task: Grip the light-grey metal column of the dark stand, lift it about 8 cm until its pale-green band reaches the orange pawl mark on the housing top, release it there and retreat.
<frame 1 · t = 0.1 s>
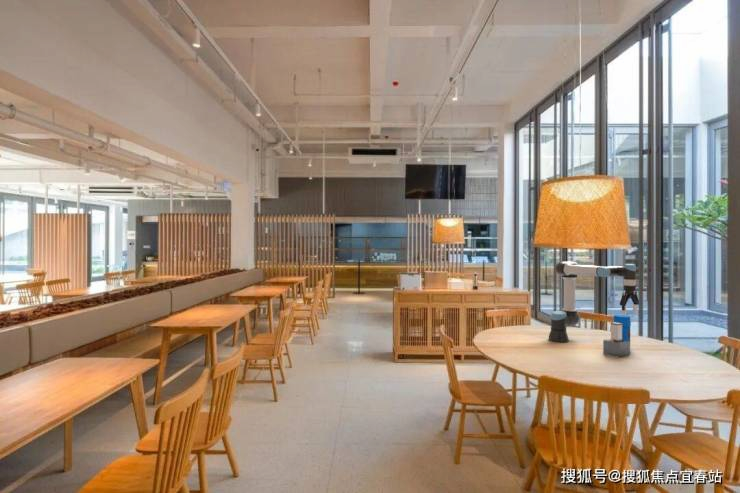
hand: (629, 314, 303), 28 cm above the table, fingers open, 13 cm apart
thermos: (621, 349, 313), on the table
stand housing: (616, 354, 298), on the table
column: (616, 338, 298), point 11 cm above the table, slide at 0.0 cm
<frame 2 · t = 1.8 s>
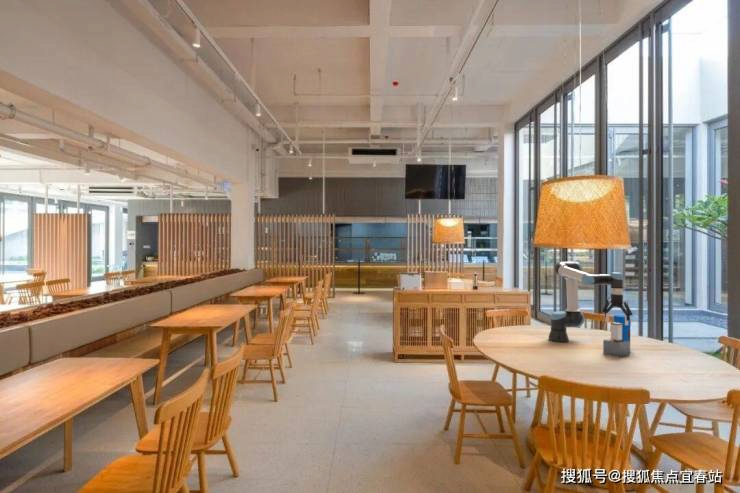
hand: (616, 323, 297), 22 cm above the table, fingers open, 13 cm apart
nothing on the table moved.
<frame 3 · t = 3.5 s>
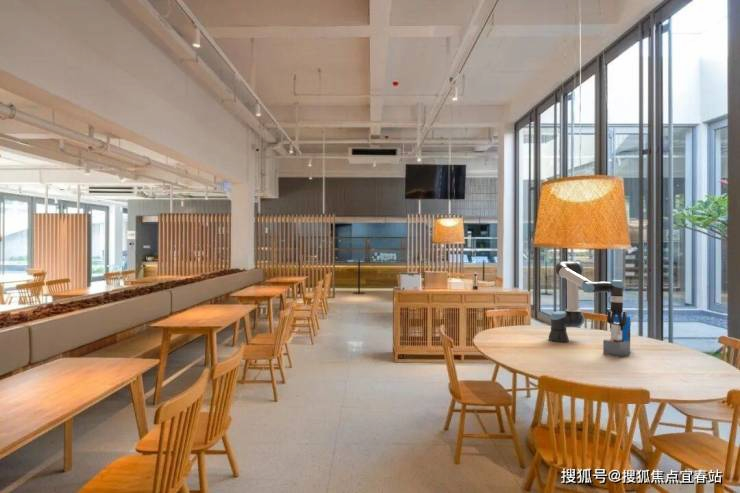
hand: (616, 333, 298), 15 cm above the table, fingers closed on column, 5 cm apart
column: (616, 338, 298), point 11 cm above the table, slide at 0.0 cm, touching gripper
everything else where it was.
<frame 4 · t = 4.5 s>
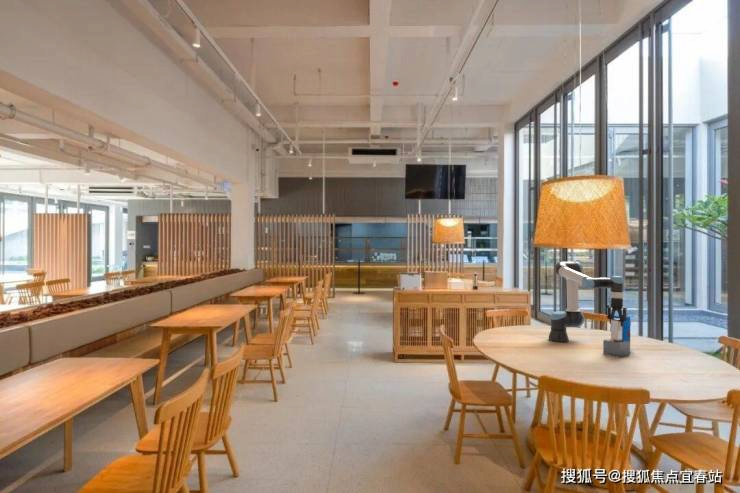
hand: (616, 329, 298), 18 cm above the table, fingers closed on column, 5 cm apart
column: (616, 334, 298), point 14 cm above the table, slide at 3.0 cm, touching gripper
everything else where it was.
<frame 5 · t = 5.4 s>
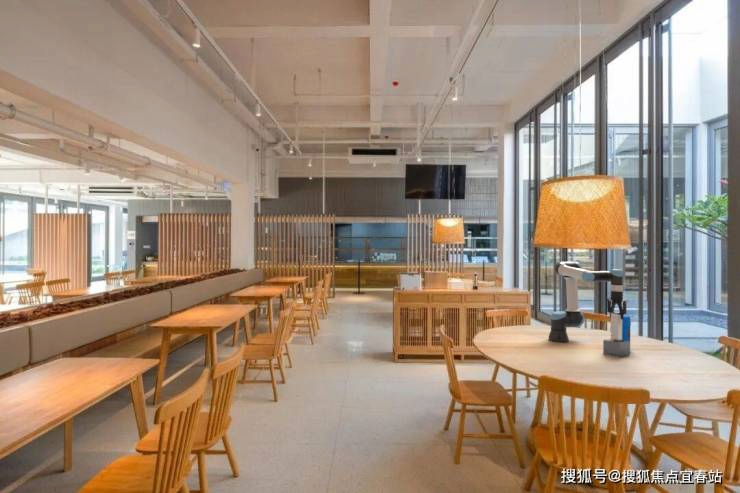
hand: (616, 323, 298), 23 cm above the table, fingers closed on column, 5 cm apart
column: (616, 327, 298), point 19 cm above the table, slide at 7.9 cm, touching gripper
everything else where it was.
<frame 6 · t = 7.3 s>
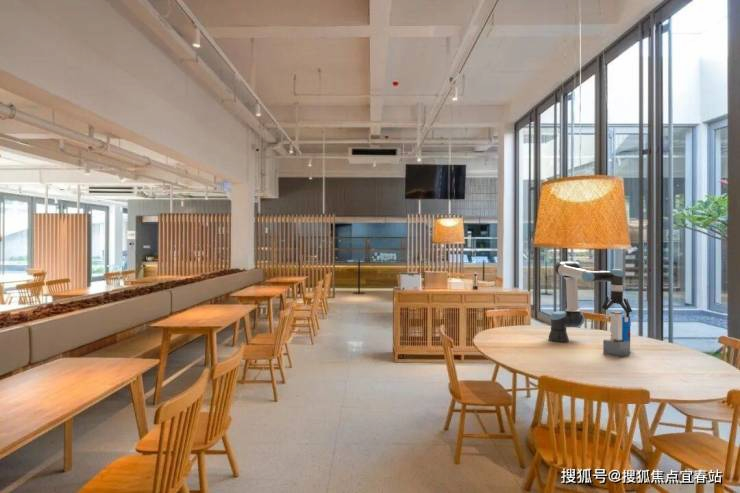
hand: (616, 320, 298), 25 cm above the table, fingers open, 13 cm apart
column: (616, 327, 298), point 19 cm above the table, slide at 8.0 cm
everything else where it was.
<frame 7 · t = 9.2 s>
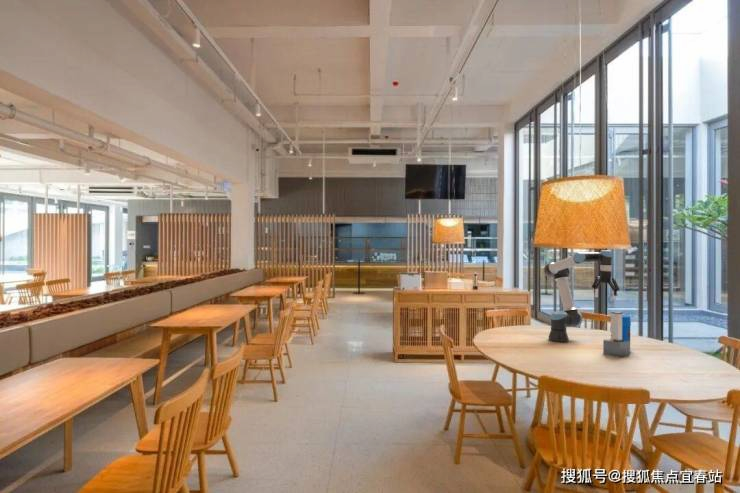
hand: (605, 298, 313), 38 cm above the table, fingers open, 13 cm apart
nothing on the table moved.
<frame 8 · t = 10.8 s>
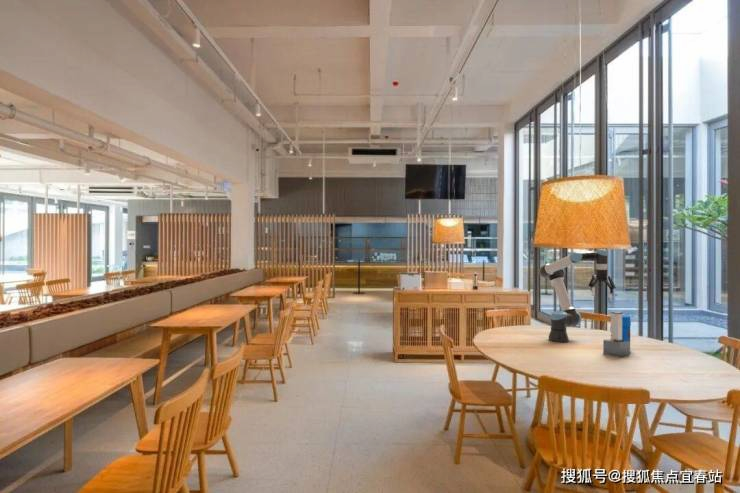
hand: (601, 296, 319), 39 cm above the table, fingers open, 13 cm apart
nothing on the table moved.
at the end: column slide at 8.0 cm; the gripper is holding nothing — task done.
